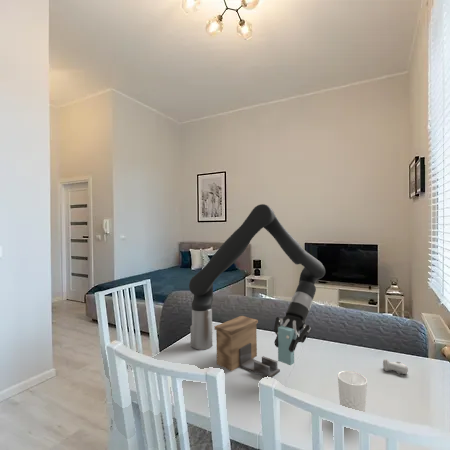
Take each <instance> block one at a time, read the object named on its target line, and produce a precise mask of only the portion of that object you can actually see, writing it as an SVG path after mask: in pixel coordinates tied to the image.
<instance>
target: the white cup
mask: <svg viewBox="0 0 450 450" xmlns="http://www.w3.org/2000/svg"><path fill="white" fill-rule="evenodd" d="M337 380H338V381H337V382H338V386H337V387H338V394H339V395H338V397H339V406H340V405H342V406H345V407H348V408H352V409H355V410H359V411H363V412H365V413H366V405H367V392H368V391H367V390H368V389H367V387H368V379H367V377H365V376H364V375H363V374H361V373H359V372H356V371H354V370H353V371H352V370H343V371H340V372H338V374H337Z"/></svg>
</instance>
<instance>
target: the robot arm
mask: <svg viewBox="0 0 450 450" xmlns="http://www.w3.org/2000/svg"><path fill="white" fill-rule="evenodd" d="M263 228H264V229H265V230H266V231H267V233H269V234H270V235H271V236H272V238H274V240H275V241H276V243H277V244H278V246H279V247H280V248H281V250H282V251H283V252H284V254H286V256H287V257H288V258H289V259H290V260H291V262H292V263H294V264H295V265H301V266H303V268H302V270H301V272H300V274H299V281H298V285H297V287H296V290H295V292H294V295H292V297H291V300H290V302H289V305H288V307H287V309H286V312H285V315H284V317H282V318H280V317H279V316H276V318H275V323H274V328H273V332H274V333H275V335H276V338H275V339H274V345H275V347H276V348H278V327H280V326H285V327H288V328H292V329H294V336H293V340H292V341H291V344H290V346H289V351H290V352H293V351H294V352H295V350H296V348H297V345H298V343H301V344H303V343H305V341H306V339H307V338H308V336H309V334H310V333H311V331H312V329H311V326H310V325H309V324H306V321H307V319H308V316H309V313H310V310H311V307H312V304H313V301H314V300H313V299H314V297H315V295H316V292H317V287H316V286H315V284H316V282H317V281H318V280H320V279H322V278H323V277H324V276H325V275H326V268H325V266H324V265H323V263H322V262H321V261H320V260H318V259H317V258H316V257H314V256H313V255H312V254H310V253H309V252H308V251H307V250H305V249H304V247H303V246H302V245H301V244H300V242H298V240H297V239H295V238H294V237H293V236H292V234H291V233H289V231H287V229H286V228H285V227H284V225H283V224H282V223H281V222H280V220H279V219H278V217H277V216H276V214H275V212H274V210H273V209H272V207H270V206H269V205H267V204H265V203H261V204H258V205H256V206H255V207H253V209H252V210H251V211H250V213H249V214H248V216H247V217H246V218H245V220H244V221H243V223H241V225H239V227H238V228H237V229H235V231H234V232H233V233H232V234H231V235H230V236H229V237H228V238H227V239H226V240H225V241H224V242H223V243H222V245H221V246H220V247H219V248H218V250H217V251H216V252H215V253H214V254H213V256H212V257H211V258H210V260H209V261H208V262H207V264H206V265H205V266H204V267H202V268H201V269H200V270H199V271H198V272H197V273H196V274H194V276H192V278H191V279H190V280H189V283H188V289H189V291H190V293H191V294H192V295H193V299H192V301H191V325H190V328H189V330H190V331H189V332H190V347H191V348H193V349H195V350H198V351H199V350H201V351H203V350H208V349H210V348H212V347H213V342H214V341H213V307H212V306H213V300H214V282H215V280H216V279H217V278H218V277H219V276H220V275H221V274H222V273H224V272H225V271H226V270H228V268H230V267H231V266H232V265H233V264H234V263H235V262H236V261H237V260H238V259H239V258H240V257H241V256H242V255H243V254H244V252H245V250H246V249H247V248H248V246H249V244H250V242H252V240H253V238H254V237H255V236H256V235H257V234H258V233H259V232H260V231H261V230H262V229H263ZM301 330H302V331H301ZM300 331H301V333H300Z"/></svg>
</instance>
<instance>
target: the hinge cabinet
mask: <svg viewBox="0 0 450 450" xmlns="http://www.w3.org/2000/svg"><path fill="white" fill-rule="evenodd" d="M258 323H259V320H258V319H256V318H252V317H248V316H246V315H245V316H244V315H240V316H237V317H235V318H231V319H229V320H227V321H224V322H221V323H220V324H217V325H215V326H214V330H215V333H216V365H218V366H220V367H222V368H225V369H226V370H228V371H230V372H233V371H235V370H236V369H238V368H241V369H244V370H246V371H248V372H251V373H254V374H256V375H258V376H261V377H264V378H265V377H267V376H268V377H272V378H273V377H275V376H276V375H277V374H279V373H280V372H281V369H279V368H278V361H277V360H275V359H272V358H269V357H267V356H264V355H263V356H261V361H259V360H257V359H255V358H256V357H257V356H258V352H257V350H258V348H257V347H258V346H257V341H258V340H257V324H258Z"/></svg>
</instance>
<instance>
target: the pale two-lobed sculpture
mask: <svg viewBox="0 0 450 450" xmlns="http://www.w3.org/2000/svg"><path fill="white" fill-rule="evenodd" d="M382 362H383V363H382V367H383V368H382V369H383V370H385V372H387V371H394V372H396V373H397V374H398V375H401V374H404V375H405V374H407V373H408V372H409V368H408V365H406V364H404V363H402V362H401V361H393V362H392V361H390V360H389V359H388V358H385V359H383V361H382Z"/></svg>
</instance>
